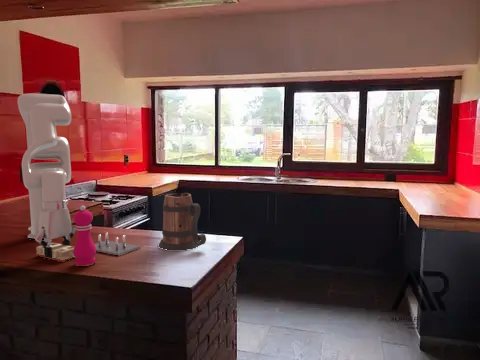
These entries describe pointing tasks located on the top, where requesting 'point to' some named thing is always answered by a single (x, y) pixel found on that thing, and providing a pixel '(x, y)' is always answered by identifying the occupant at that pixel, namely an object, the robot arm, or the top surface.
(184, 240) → the tankard
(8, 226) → the top surface
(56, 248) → the tan rectangular block
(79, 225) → the pepper mill
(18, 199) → the top surface
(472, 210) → the top surface
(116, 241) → the chassis
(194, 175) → the top surface
